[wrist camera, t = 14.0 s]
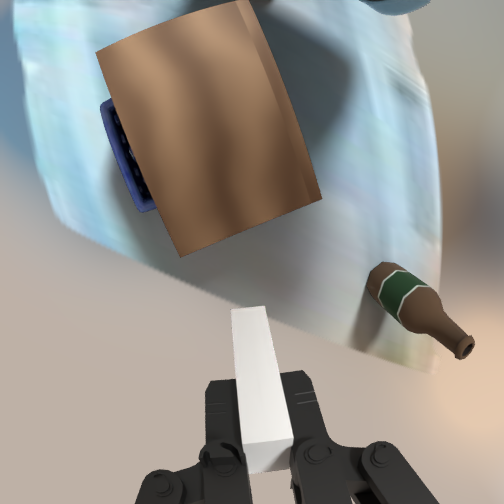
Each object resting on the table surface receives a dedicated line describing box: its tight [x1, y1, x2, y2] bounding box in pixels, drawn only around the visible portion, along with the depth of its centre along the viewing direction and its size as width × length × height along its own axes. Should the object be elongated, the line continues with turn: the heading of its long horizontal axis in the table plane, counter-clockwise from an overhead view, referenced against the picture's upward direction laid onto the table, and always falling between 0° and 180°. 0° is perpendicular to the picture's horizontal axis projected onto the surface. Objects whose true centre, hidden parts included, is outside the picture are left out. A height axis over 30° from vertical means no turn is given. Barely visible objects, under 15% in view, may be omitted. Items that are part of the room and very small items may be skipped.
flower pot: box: [100, 98, 157, 212], centre depth 34 cm, size 13×13×12 cm
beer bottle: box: [367, 262, 475, 360], centre depth 43 cm, size 8×8×24 cm
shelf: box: [95, 0, 322, 258], centre depth 32 cm, size 14×21×17 cm
